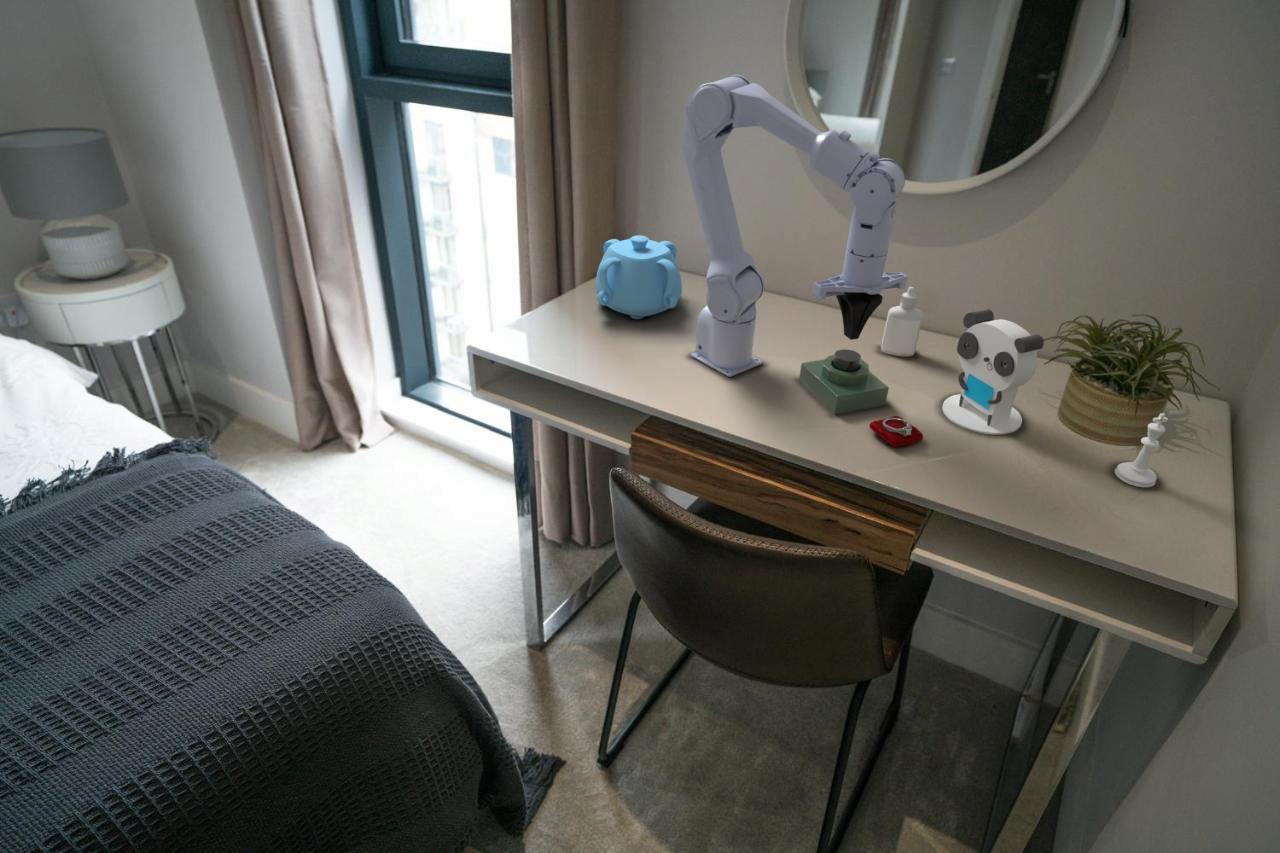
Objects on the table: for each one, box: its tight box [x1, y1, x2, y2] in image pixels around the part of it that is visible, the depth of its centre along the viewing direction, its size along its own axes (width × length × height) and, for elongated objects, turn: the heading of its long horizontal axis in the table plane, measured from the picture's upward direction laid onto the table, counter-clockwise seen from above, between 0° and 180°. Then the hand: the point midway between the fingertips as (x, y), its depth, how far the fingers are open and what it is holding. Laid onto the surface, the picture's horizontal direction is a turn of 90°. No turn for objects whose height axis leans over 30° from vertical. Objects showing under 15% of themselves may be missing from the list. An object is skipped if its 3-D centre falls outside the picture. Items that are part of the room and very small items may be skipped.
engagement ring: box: [868, 415, 924, 448], centre depth 113 cm, size 6×6×3 cm
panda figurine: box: [941, 308, 1045, 436], centre depth 116 cm, size 12×11×15 cm
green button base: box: [798, 354, 890, 415], centre depth 123 cm, size 11×9×5 cm
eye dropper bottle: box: [880, 286, 923, 358], centre depth 133 cm, size 4×6×12 cm
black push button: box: [833, 348, 862, 372], centre depth 121 cm, size 4×4×2 cm
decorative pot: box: [594, 235, 683, 320], centre depth 147 cm, size 16×16×14 cm
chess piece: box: [1114, 412, 1169, 488], centre depth 104 cm, size 5×5×10 cm
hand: (851, 336), depth 119 cm, fingers closed
